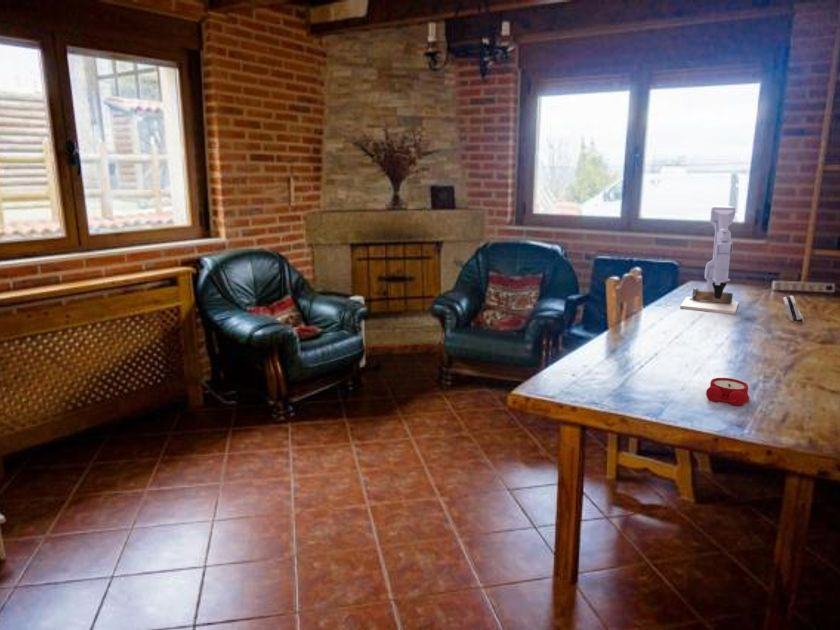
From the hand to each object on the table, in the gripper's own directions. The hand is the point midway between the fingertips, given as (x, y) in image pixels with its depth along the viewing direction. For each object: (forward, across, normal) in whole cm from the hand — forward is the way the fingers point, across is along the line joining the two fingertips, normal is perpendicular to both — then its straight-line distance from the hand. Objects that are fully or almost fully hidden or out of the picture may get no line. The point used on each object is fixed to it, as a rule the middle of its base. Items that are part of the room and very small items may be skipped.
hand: (717, 298), depth 274 cm
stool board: (+3, -2, +3) cm, 5 cm away
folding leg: (+2, +3, +3) cm, 4 cm away
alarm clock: (+5, -124, -18) cm, 125 cm away
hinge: (+4, -5, -29) cm, 30 cm away
